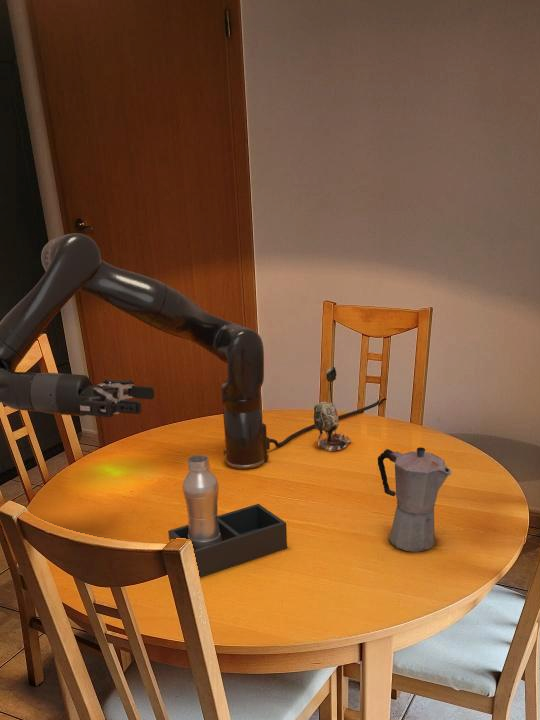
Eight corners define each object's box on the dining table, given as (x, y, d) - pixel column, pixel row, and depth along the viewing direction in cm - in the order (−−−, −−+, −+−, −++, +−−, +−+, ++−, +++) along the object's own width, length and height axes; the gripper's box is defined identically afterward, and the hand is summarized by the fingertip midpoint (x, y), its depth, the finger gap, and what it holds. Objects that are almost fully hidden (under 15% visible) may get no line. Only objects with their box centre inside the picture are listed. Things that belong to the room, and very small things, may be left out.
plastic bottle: (188, 548, 153) (179, 452, 144) (223, 546, 154) (216, 450, 145) (187, 565, 147) (177, 466, 138) (223, 563, 148) (216, 464, 139)
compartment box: (170, 556, 152) (168, 530, 150) (259, 528, 162) (258, 503, 159) (195, 579, 144) (192, 552, 142) (287, 548, 154) (286, 522, 151)
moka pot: (437, 561, 148) (443, 463, 139) (363, 542, 155) (364, 447, 146) (456, 540, 155) (463, 445, 146) (384, 523, 162) (387, 431, 153)
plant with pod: (304, 447, 201) (302, 370, 192) (337, 436, 207) (337, 361, 198) (324, 456, 195) (324, 377, 186) (358, 445, 201) (359, 368, 192)
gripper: (44, 385, 138) (135, 392, 136) (73, 363, 150) (157, 369, 149) (48, 426, 141) (137, 433, 139) (76, 401, 154) (158, 407, 152)
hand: (147, 400), depth 144 cm, fingers open, 8 cm apart
